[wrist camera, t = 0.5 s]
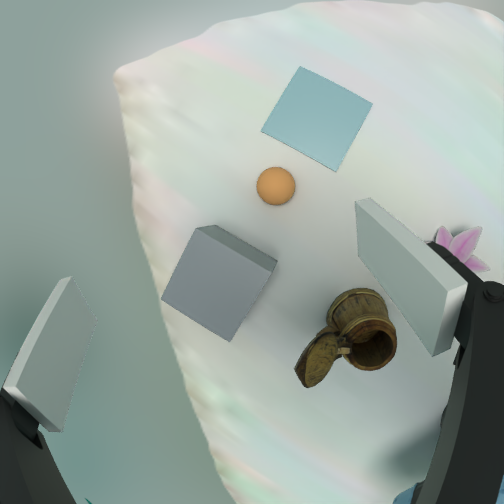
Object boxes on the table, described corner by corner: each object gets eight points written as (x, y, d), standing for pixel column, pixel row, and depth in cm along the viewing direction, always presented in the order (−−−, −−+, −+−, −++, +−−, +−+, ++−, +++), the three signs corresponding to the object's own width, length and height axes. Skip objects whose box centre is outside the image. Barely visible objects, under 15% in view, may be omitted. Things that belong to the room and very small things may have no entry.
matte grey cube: (277, 260, 45) (271, 272, 36) (242, 319, 46) (229, 342, 38) (215, 224, 45) (195, 228, 37) (184, 283, 47) (160, 299, 39)
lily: (472, 226, 40) (482, 203, 32) (484, 300, 37) (499, 293, 29) (404, 238, 46) (400, 218, 38) (413, 312, 43) (412, 309, 35)
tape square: (372, 104, 40) (372, 103, 39) (335, 172, 42) (336, 171, 42) (299, 66, 40) (299, 66, 40) (260, 131, 43) (260, 130, 42)
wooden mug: (301, 281, 44) (300, 326, 27) (391, 290, 43) (439, 336, 25) (293, 339, 46) (287, 408, 28) (380, 346, 44) (414, 413, 26)
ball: (301, 180, 43) (301, 176, 38) (284, 211, 44) (281, 211, 39) (270, 163, 43) (266, 157, 38) (252, 194, 44) (246, 192, 39)
